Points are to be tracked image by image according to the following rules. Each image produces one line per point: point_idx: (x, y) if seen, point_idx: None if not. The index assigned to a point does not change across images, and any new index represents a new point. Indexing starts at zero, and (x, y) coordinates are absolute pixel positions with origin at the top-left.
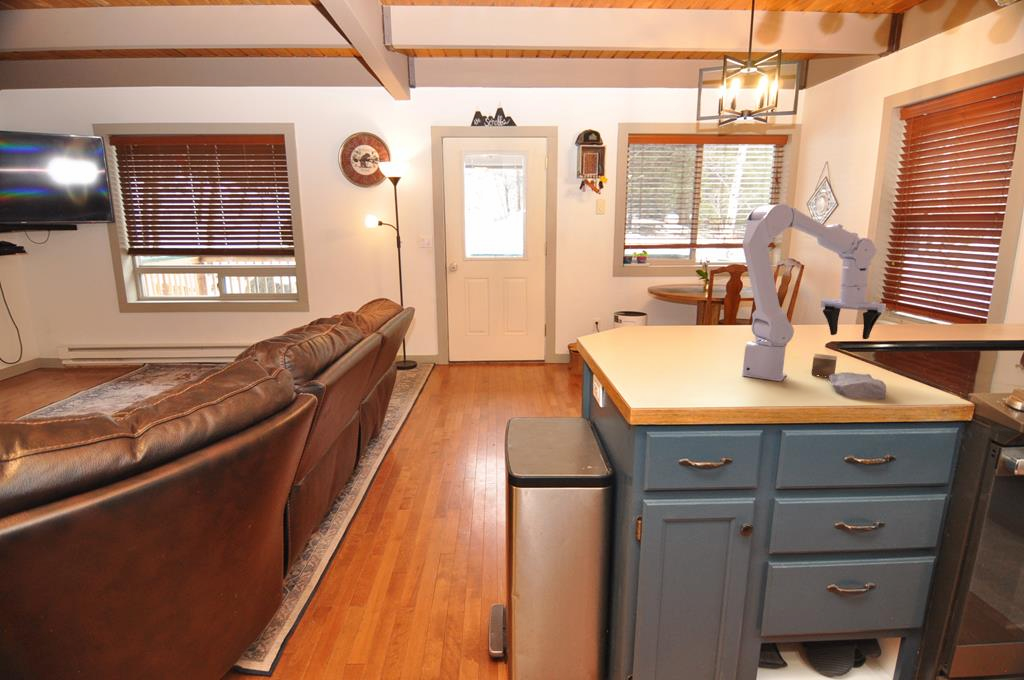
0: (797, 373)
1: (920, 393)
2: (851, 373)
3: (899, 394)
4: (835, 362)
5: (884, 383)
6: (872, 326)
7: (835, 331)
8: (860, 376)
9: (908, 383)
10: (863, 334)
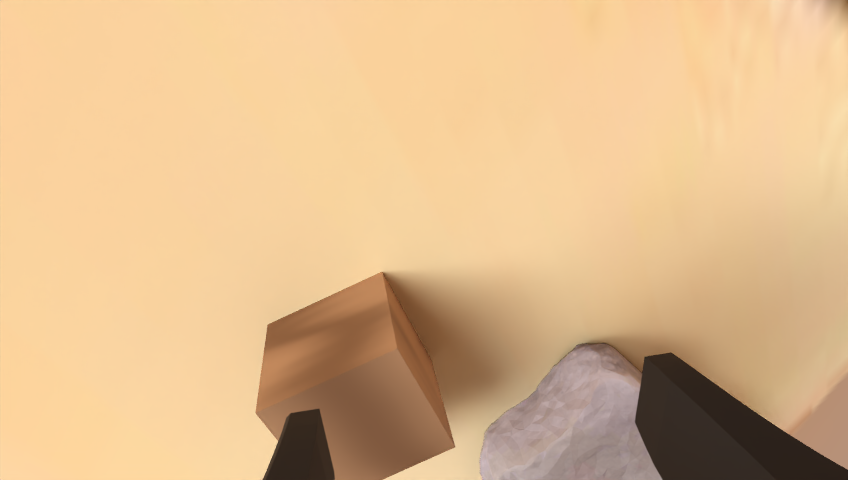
0: (261, 438)
1: (825, 234)
2: (576, 456)
3: (749, 332)
4: (436, 405)
5: None
6: (797, 454)
7: (326, 470)
8: (626, 459)
9: (760, 82)
10: (668, 474)
